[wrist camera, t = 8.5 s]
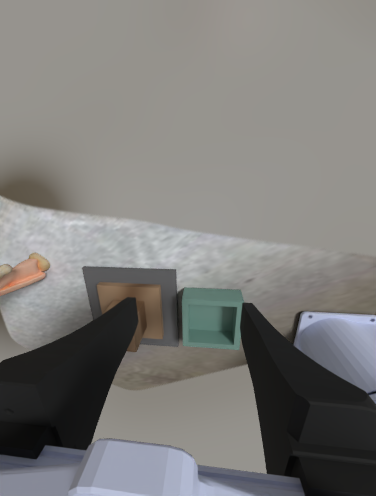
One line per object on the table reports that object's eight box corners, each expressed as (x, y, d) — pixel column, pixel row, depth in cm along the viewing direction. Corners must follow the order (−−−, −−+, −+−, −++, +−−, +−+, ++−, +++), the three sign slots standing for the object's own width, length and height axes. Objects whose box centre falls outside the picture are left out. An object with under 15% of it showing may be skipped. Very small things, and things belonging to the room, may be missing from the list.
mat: (176, 269, 23) (175, 271, 23) (178, 344, 27) (178, 346, 27) (84, 266, 25) (82, 267, 24) (99, 338, 29) (98, 341, 28)
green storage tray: (240, 289, 24) (244, 302, 21) (236, 334, 26) (239, 349, 24) (184, 287, 24) (181, 299, 22) (185, 331, 27) (183, 345, 24)
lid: (160, 284, 24) (149, 308, 19) (163, 334, 27) (154, 366, 22) (99, 282, 25) (75, 304, 20) (109, 331, 27) (89, 360, 23)
